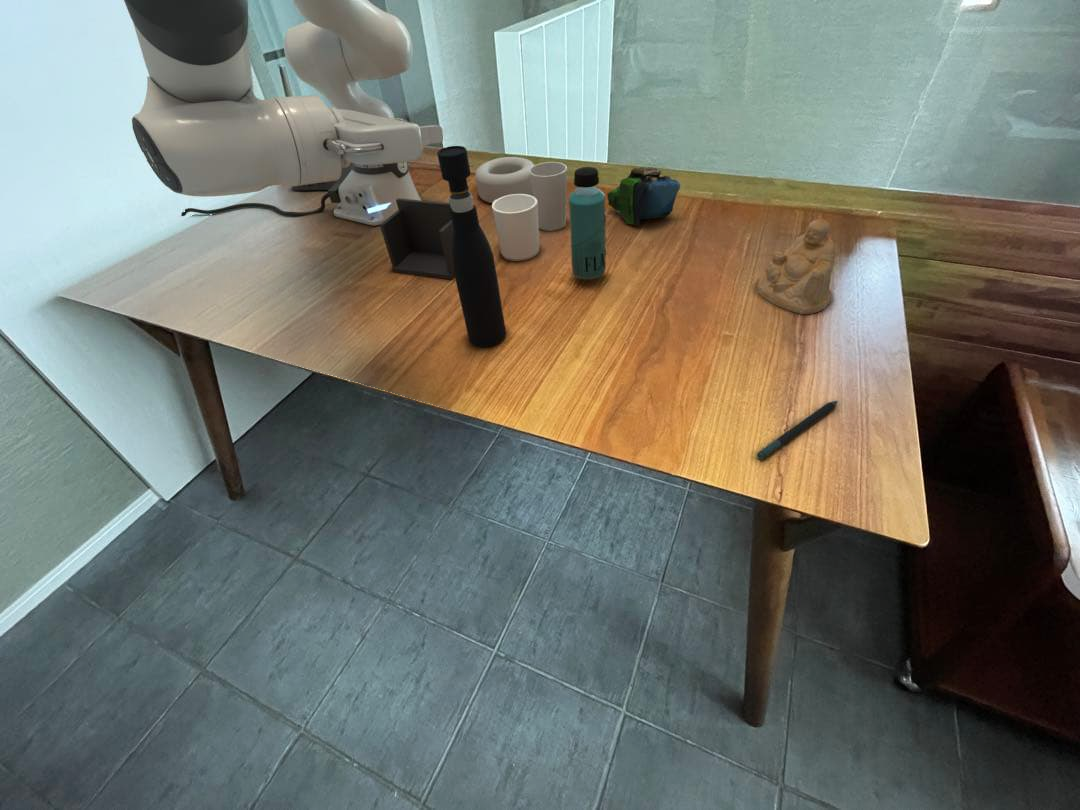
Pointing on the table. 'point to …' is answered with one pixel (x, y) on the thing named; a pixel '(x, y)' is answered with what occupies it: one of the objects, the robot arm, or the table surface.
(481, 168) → the thick torus
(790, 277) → the statue
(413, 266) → the book rack
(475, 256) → the wine bottle
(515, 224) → the mug
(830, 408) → the pen
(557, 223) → the cup
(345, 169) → the streaming box
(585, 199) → the beverage bottle
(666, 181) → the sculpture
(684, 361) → the table surface
